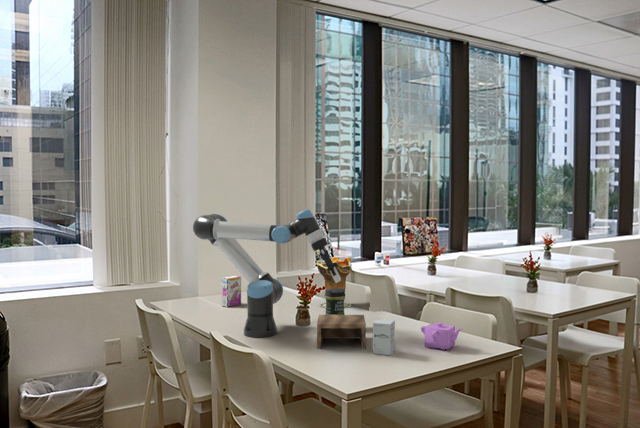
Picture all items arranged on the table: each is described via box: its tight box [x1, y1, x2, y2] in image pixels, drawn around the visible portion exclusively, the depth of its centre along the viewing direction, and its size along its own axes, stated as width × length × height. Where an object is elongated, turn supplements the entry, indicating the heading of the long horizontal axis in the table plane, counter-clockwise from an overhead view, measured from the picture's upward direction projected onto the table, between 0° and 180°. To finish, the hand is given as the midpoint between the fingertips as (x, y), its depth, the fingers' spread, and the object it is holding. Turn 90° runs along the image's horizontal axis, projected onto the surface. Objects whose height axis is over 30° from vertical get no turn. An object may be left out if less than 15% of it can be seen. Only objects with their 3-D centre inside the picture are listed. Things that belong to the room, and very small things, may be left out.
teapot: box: [420, 322, 463, 351], centre depth 224 cm, size 18×14×10 cm
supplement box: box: [372, 318, 396, 356], centre depth 218 cm, size 7×7×13 cm
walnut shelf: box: [316, 314, 367, 350], centre depth 233 cm, size 20×18×10 cm
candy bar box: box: [221, 275, 242, 307], centre depth 313 cm, size 11×5×16 cm, turn 144°
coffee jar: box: [324, 288, 346, 315], centre depth 261 cm, size 10×8×19 cm
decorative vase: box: [316, 256, 353, 309], centre depth 310 cm, size 21×23×28 cm
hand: (338, 280), depth 255 cm, fingers open, 13 cm apart
